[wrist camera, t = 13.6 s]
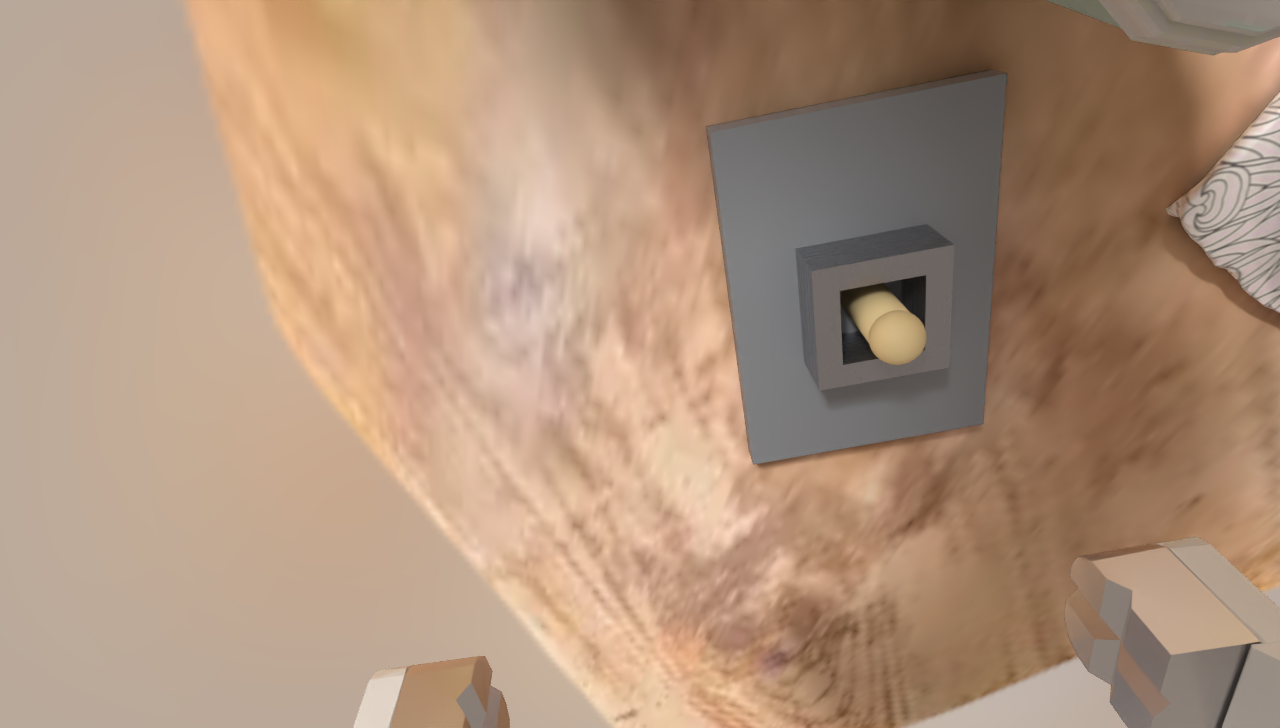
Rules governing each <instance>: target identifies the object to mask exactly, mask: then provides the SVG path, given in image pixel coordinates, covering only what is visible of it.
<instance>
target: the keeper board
mask: <svg viewBox="0 0 1280 728" xmlns="http://www.w3.org/2000/svg"><path fill="white" fill-rule="evenodd" d="M1006 83H1007V73H1003V72H999V71H994V70H988V71H983V72H978V73H973V74H968V75H963V76H958V77H953V78H948V79H943V80H938V81H933V82H928V83H923V84H918V85H913V86H908V87H903V88H898V89H893V90H888V91H882V92H877V93H872V94H867V95H862V96H857V97H852V98H847V99H842V100H837V101H832V102H827V103H822V104H817V105H812V106H807V107H802V108H797V109H792V110H787V111H782V112H777V113H772V114H767V115H762V116H757V117H752V118H747V119H742V120H737V121H732V122H727V123H722V124H717V125H712V126H707V127H706V131H707V138H708V146H709V153H710V161H711V168H712V176H713V183H714V191H715V198H716V206H717V214H718V221H719V229H720V236H721V244H722V251H723V259H724V266H725V274H726V282H727V289H728V297H729V304H730V312H731V319H732V327H733V334H734V342H735V350H736V357H737V365H738V372H739V380H740V387H741V395H742V402H743V410H744V418H745V425H746V433H747V440H748V448H749V452H750V456H751V459H752V462H753V465H754V464H759V463H765V462H771V461H777V460H782V459H788V458H794V457H799V456H805V455H811V454H816V453H822V452H828V451H833V450H839V449H845V448H850V447H856V446H862V445H868V444H873V443H879V442H885V441H890V440H896V439H902V438H907V437H913V436H919V435H924V434H930V433H936V432H941V431H947V430H953V429H959V428H964V427H970V426H976V425H981V424H983V420H984V405H985V390H986V376H987V361H988V347H989V332H990V317H991V303H992V288H993V273H994V259H995V244H996V230H997V215H998V200H999V186H1000V171H1001V157H1002V142H1003V127H1004V113H1005V98H1006ZM924 224H928V225H929V226H930V227H932V228H933V229H934V230H936V231H937V232H938V233H940V234H941V235H942V236H944V237H945V238H946V239H947V240H949V241H950V242H951V243H953V244H954V265H953V290H952V315H951V339H950V364H949V368H944V369H938V370H933V371H927V372H922V373H916V374H910V375H905V376H899V377H893V378H888V379H882V380H877V381H871V382H865V383H860V384H854V385H849V386H843V387H837V388H832V389H826V390H820V391H819V389H818V387H817V385H816V383H815V382H814V380H813V378H812V376H811V374H810V372H809V370H808V368H807V366H806V364H805V363H804V356H803V343H802V329H801V316H800V303H799V290H798V277H797V264H796V251H795V249H796V248H801V247H806V246H812V245H817V244H822V243H828V242H833V241H838V240H844V239H849V238H854V237H860V236H865V235H870V234H876V233H881V232H886V231H892V230H897V229H902V228H908V227H913V226H918V225H924ZM901 281H902V280H896V281H891V282H886V283H880V284H875V285H869V286H864V287H859V288H853V289H848V290H842V291H840V308H841V331H842V334H846V333H851V332H857V331H860V332H861V333H862V334H863V336H864V337H865V339H866V340H867V341H868V343H869V345H870V348H871V350H872V352H873V353H874V354H875V355H876V357H877V358H879V359H880V360H882V361H883V362H886V363H888V364H894V365H901V364H906V363H909V362H911V361H913V360H914V359H916V358H917V357H918V356H919V355H920V354H921V352H922V351H923V349H924V347H925V344H926V338H927V337H926V330H925V327H924V325H923V323H922V322H921V321H920V319H919V318H917V317H916V316H915V315H913V314H912V313H910V312H909V311H908V310H907V309H906V307H905V306H904V305H903V304H902V303H901Z"/></svg>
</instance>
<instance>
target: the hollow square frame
mask: <svg viewBox="0 0 1280 728" xmlns="http://www.w3.org/2000/svg"><path fill="white" fill-rule="evenodd" d="M795 251H796V264H797V277H798V290H799V303H800V316H801V329H802V343H803V356H804V363H805V364H806V366H807V368H808V370H809V372H810V374H811V376H812V378H813V380H814V382H815V383H816V385H817V387H818V389H819V391H820V390H826V389H832V388H837V387H843V386H849V385H854V384H860V383H865V382H871V381H877V380H882V379H888V378H893V377H899V376H905V375H910V374H916V373H922V372H927V371H933V370H938V369H944V368H949V364H950V339H951V315H952V290H953V265H954V244H953V243H951V242H950V241H949V240H947V239H946V238H945V237H944V236H942V235H941V234H940V233H938V232H937V231H936V230H934V229H933V228H932V227H930V226H929V225H928V224H924V225H918V226H913V227H908V228H902V229H897V230H892V231H886V232H881V233H876V234H870V235H865V236H860V237H854V238H849V239H844V240H838V241H833V242H828V243H822V244H817V245H812V246H806V247H801V248H796V249H795ZM896 280H902V281H901V303H902V304H903V305H904V306H905V307H906V309H907V310H908V311H909V312H910V313H912V314H913V315H915V316H916V317H917V318H919V319H920V321H921V322H922V323H923V325H924V327H925V330H926V337H927V338H926V344H925V347H924V349H923V351H922V352H921V354H920V355H919V356H918V357H917V358H916V359H914V360H913V361H911V362H909V363H906V364H901V365H894V364H888V363H886V362H883V361H882V360H880V359H879V358H877V357H876V355H875V354H874V353H873V352H872V350H871V348H870V345H869V343H868V341H867V340H866V339H865V337H864V336H863V334H862V333H861V332H860V331H857V332H851V333H846V334H842V331H841V308H840V291H842V290H848V289H853V288H859V287H864V286H869V285H875V284H880V283H886V282H891V281H896Z"/></svg>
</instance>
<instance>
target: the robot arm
mask: <svg viewBox="0 0 1280 728" xmlns="http://www.w3.org/2000/svg"><path fill="white" fill-rule="evenodd" d="M1070 578H1071V579H1072V581H1073V582H1074V583H1075V585H1076V586H1077V587H1078V589H1077V590H1076V591H1075V592H1074V593H1073V594H1072V595H1071V596H1070V597H1069V598H1068V599H1067V600H1066V605H1065V615H1064V620H1065V624H1066V628H1067V632H1068V636H1069V639H1070V642H1071V644H1072V646H1073V648H1074V650H1075V652H1076V654H1077V656H1078V657H1079V659H1080V660H1081V661H1082V663H1083V664H1084V666H1085V667H1086V669H1087V670H1088V672H1090V673H1092V674H1094V675H1095V676H1097V677H1098V678H1100V679H1102V680H1104V681H1105V682H1107V683H1109V684H1111V693H1110V703H1111V705H1112V706H1113V707H1114V709H1115V710H1116V712H1117V713H1118V715H1119V716H1120V717H1121V719H1122V720H1123V722H1124V723H1125V724H1126V726H1127V727H1128V728H1280V608H1279V607H1278V606H1277V605H1276V604H1275V603H1273V602H1272V601H1271V600H1270V599H1269V598H1268V597H1267V596H1266V595H1265V594H1264V593H1263V592H1262V591H1260V590H1259V589H1258V588H1257V587H1256V586H1255V585H1254V584H1253V583H1252V582H1251V581H1250V580H1249V579H1247V578H1246V577H1245V576H1244V575H1243V574H1242V573H1241V572H1240V571H1239V570H1238V569H1237V568H1236V567H1234V566H1233V565H1232V564H1231V563H1230V562H1229V561H1228V560H1227V559H1226V558H1225V557H1224V556H1223V555H1221V554H1220V553H1219V552H1218V551H1217V550H1216V549H1215V548H1214V547H1213V546H1212V545H1211V544H1209V543H1208V542H1206V541H1204V540H1202V539H1200V538H1198V537H1192V538H1186V539H1180V540H1174V541H1168V542H1162V543H1156V544H1146V545H1140V546H1135V547H1129V548H1123V549H1118V550H1112V551H1106V552H1101V553H1095V554H1090V555H1084V556H1079V557H1078V558H1077V559H1076V560H1075V561H1074V562H1073V563H1072V568H1071V573H1070ZM491 678H492V669H491V667H490V665H489V663H488V661H487V659H486V657H485V656H477V657H470V658H462V659H456V660H448V661H440V662H433V663H426V664H418V665H412V666H406V667H399V668H393V669H386V670H379V671H376V673H375V674H374V676H373V677H372V678H371V679H370V681H369V683H368V685H367V688H366V691H365V694H364V697H363V700H362V703H361V705H360V708H359V712H358V715H357V718H356V721H355V723H354V726H353V728H510V719H509V714H508V709H507V705H506V702H505V699H504V697H503V694H502V692H501V691H499V690H497V689H496V688H494V687H492V686H491Z"/></svg>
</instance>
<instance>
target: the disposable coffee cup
mask: <svg viewBox="0 0 1280 728" xmlns="http://www.w3.org/2000/svg"><path fill="white" fill-rule="evenodd" d="M1046 1H1049V2H1052V3H1054V4H1057V5H1060V6H1063V7H1065V8H1068V9H1071V10H1073V11H1076V12H1079V13H1081V14H1084V15H1087V16H1089V17H1092V18H1095V19H1097V20H1100V21H1103V22H1106V23H1108V24H1111V25H1114V26H1116V27H1119V28H1121V29H1122V30H1123V31H1124V32H1125V34H1126V35H1127V36H1128V37H1129V39H1130V40H1132V41H1138V42H1143V43H1148V44H1154V45H1159V46H1165V47H1170V48H1175V49H1181V50H1186V51H1192V52H1197V53H1202V54H1208V55H1216V54H1218V53H1221V52H1239V51H1242V50H1244V49H1247V48H1250V47H1252V46H1255V45H1258V44H1260V43H1263V42H1266V41H1269V40H1271V39H1274V38H1277V37H1279V36H1280V0H1046Z"/></svg>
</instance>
